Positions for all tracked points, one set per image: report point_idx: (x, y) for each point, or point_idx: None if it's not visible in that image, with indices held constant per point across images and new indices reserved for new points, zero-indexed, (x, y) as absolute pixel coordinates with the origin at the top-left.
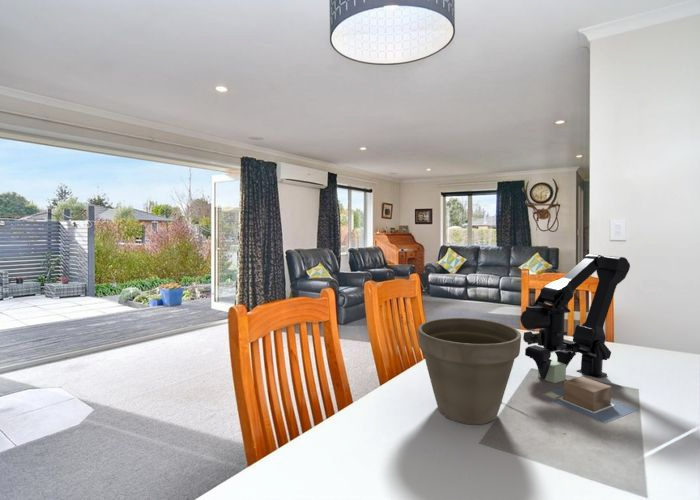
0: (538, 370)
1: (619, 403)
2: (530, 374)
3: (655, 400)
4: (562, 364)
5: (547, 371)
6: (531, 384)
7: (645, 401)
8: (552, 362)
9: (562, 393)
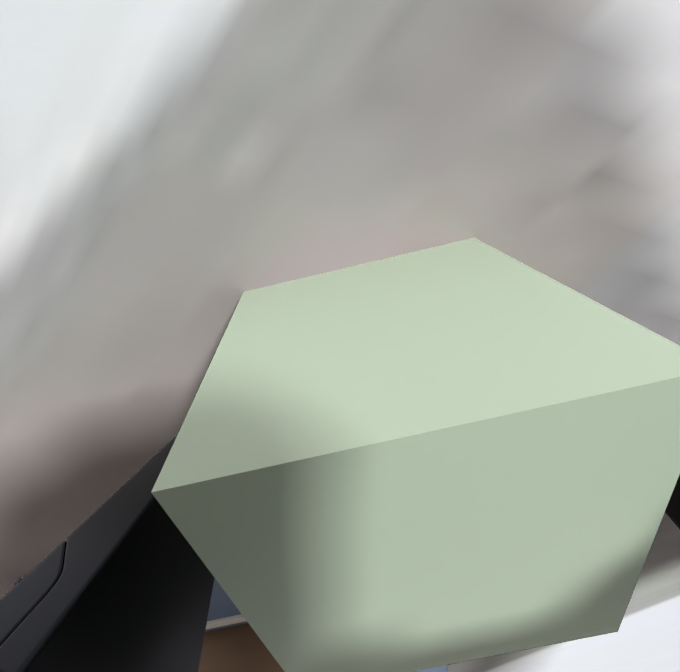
0: (219, 355)
1: (437, 669)
2: (231, 116)
3: (645, 637)
4: (548, 636)
5: (201, 590)
6: (61, 412)
7: (592, 640)
8: (484, 562)
9: (220, 595)
